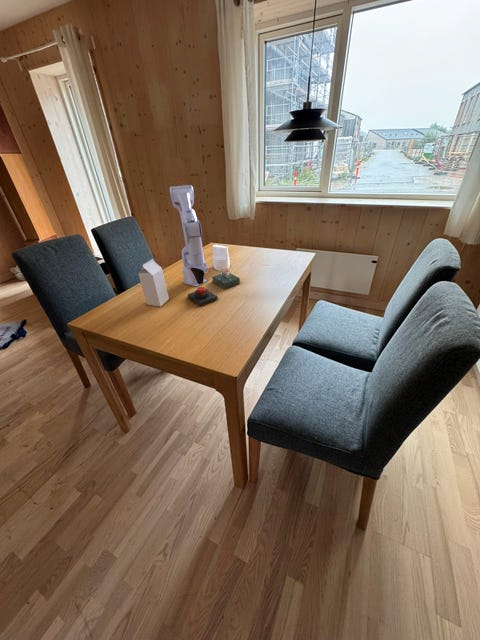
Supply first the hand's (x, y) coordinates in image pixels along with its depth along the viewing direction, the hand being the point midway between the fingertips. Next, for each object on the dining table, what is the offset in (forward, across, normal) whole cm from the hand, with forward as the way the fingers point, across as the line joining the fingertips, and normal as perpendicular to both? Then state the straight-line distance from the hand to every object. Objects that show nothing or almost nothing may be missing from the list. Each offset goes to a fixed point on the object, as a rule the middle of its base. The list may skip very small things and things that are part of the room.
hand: (200, 283), depth 115 cm
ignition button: (+5, 0, 0) cm, 5 cm away
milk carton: (+8, -11, -17) cm, 21 cm away
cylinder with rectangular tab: (+8, -25, +27) cm, 38 cm away
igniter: (+8, 0, 0) cm, 8 cm away
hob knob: (+5, -6, +17) cm, 19 cm away
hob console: (+8, -6, +17) cm, 20 cm away
